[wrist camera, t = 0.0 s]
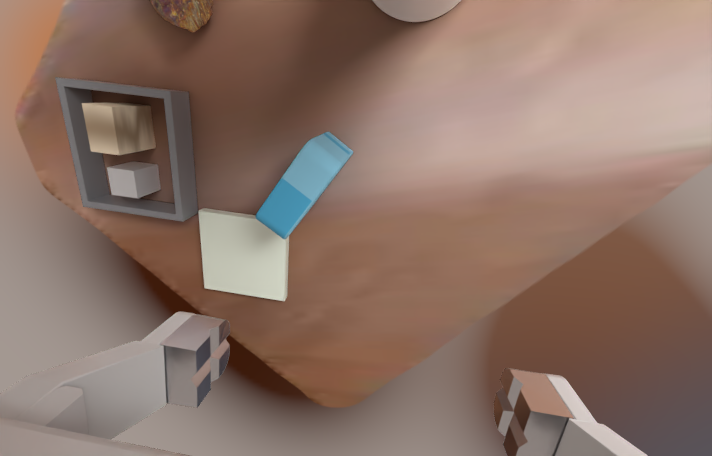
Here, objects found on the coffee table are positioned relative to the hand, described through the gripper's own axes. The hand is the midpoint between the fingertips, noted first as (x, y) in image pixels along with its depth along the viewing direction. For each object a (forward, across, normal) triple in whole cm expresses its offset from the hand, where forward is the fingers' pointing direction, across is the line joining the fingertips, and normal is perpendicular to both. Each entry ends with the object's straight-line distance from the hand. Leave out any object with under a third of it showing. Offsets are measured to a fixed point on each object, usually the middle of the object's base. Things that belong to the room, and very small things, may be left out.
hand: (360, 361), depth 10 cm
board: (+40, +21, +15) cm, 48 cm away
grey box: (+40, +37, +4) cm, 54 cm away
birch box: (+39, +37, -4) cm, 54 cm away
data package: (+39, +10, 0) cm, 41 cm away
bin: (+39, +37, 0) cm, 54 cm away
